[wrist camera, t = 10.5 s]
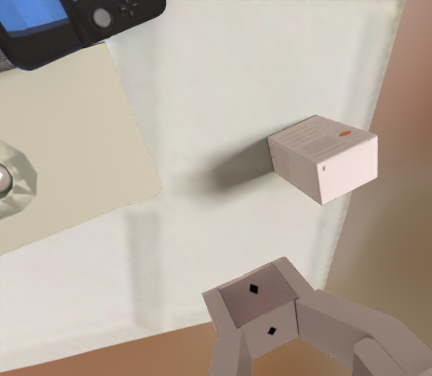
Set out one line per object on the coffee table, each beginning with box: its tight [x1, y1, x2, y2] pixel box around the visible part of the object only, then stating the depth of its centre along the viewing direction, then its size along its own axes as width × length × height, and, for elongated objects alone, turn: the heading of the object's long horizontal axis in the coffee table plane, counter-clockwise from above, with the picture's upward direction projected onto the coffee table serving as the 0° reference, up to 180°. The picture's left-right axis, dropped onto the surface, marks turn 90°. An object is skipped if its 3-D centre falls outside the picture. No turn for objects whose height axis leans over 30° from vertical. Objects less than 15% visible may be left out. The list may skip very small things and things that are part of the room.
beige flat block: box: [0, 42, 164, 256], centre depth 30 cm, size 16×20×2 cm
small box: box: [267, 115, 377, 205], centre depth 37 cm, size 8×6×10 cm
